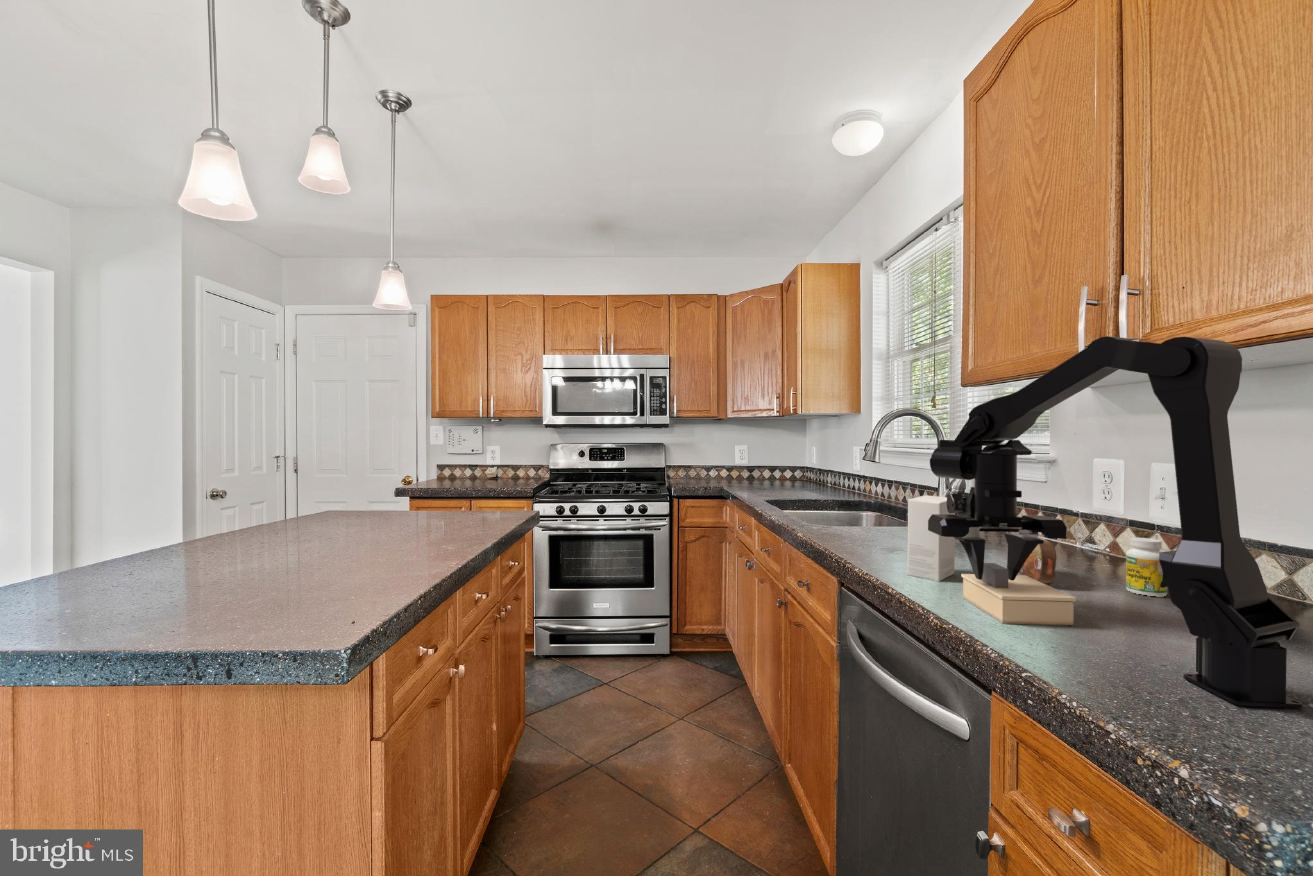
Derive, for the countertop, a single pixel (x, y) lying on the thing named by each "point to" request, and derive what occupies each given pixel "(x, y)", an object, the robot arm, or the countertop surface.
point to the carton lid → (1015, 585)
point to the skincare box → (928, 541)
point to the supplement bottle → (1144, 568)
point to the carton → (1019, 608)
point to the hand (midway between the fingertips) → (994, 579)
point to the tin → (1041, 563)
